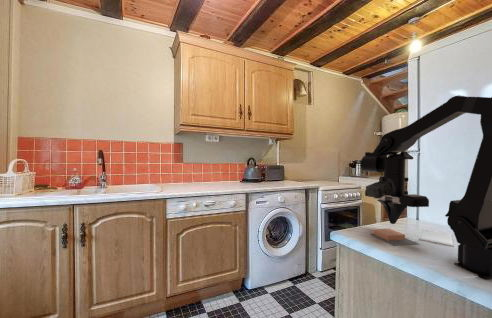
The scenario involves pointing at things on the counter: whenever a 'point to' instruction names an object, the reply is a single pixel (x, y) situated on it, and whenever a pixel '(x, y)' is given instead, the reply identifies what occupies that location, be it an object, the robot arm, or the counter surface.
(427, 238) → the hard drive
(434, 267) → the counter surface
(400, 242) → the mat
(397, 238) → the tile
